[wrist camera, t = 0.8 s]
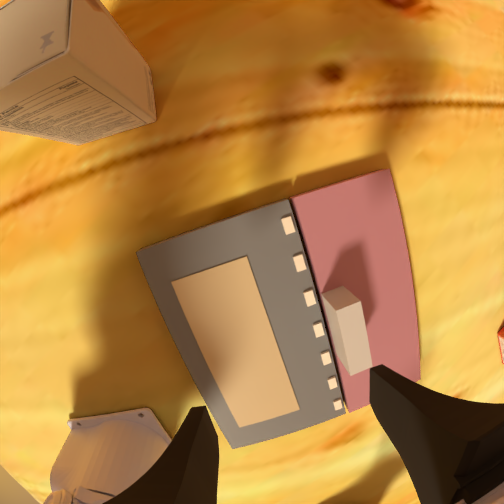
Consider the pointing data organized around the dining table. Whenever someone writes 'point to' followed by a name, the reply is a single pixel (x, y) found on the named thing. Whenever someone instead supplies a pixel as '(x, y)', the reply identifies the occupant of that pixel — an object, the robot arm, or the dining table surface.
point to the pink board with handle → (361, 278)
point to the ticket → (247, 323)
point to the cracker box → (501, 343)
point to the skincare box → (70, 72)
